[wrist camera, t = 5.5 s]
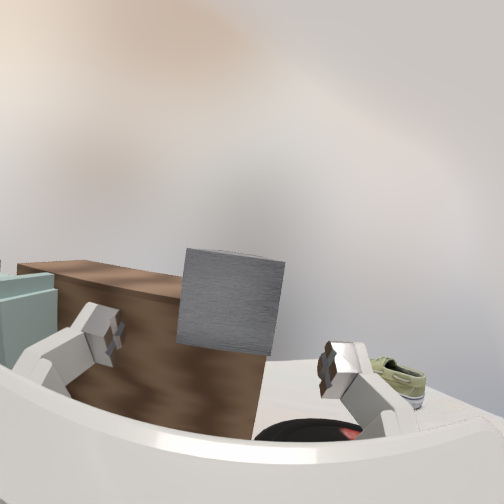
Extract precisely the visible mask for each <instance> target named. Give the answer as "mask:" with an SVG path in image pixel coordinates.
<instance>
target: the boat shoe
mask: <svg viewBox="0 0 504 504" xmlns="http://www.w3.org/2000/svg"><path fill="white" fill-rule="evenodd" d="M370 363H371V366H372V369H373V372H374V373H377V374H378V375H379V376H380V377H381V378H382V379H384V380H385V381H386V382H387V383H388V384H389V385H390V386H391V387H392V388H393V389H394V390H395V391H396V392H397V393H398V394H399V395H401V396H402V397H403V398H404V399H405V400H406V401H407V402H408V403H409V404H410V405H411V406H412V407H413V409H416V408H419V407H420V406H421V404H422V402H423V400H424V395H425V393H424V392H425V383H426V382H425V380H426V375H425V374H424V373H423V372H420V371H418V370H415V369H411V368H408V367H404V366H400V365H398V364H397V363H396V361H395V360H394V359H393V358H391V357H389V356H381V357H380V358H377V359H370Z"/></svg>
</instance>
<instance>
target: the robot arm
mask: <svg viewBox="0 0 504 504" xmlns="http://www.w3.org/2000/svg"><path fill="white" fill-rule="evenodd" d="M122 319H123V313H122V311H121V310H118V309H114V308H110V307H107V306H103V305H99V304H95V303H91V302H88V303H86V304H85V306H84V307H83V309H82V310H81V312H80V313H79V315H78V316H77V318H76V319H75V321H74V322H73V324H72V325H71V327H70V328H69V327H66V328H64V329H62V330H60V331H59V332H57V333H55V334H53V335H51V336H49V337H47V338H45V339H43V340H41V341H39V342H37V343H35V344H34V345H32V346H30V347H28V348H26V349H25V350H24V351H23V353H22V354H21V356H20V358H19V359H18V361H17V362H16V364H15V365H14V367H13V369H12V370H10V369H8V368H6V367H5V366H3V365H1V364H0V504H504V437H503V435H502V433H501V432H500V431H499V430H498V429H497V428H496V427H495V426H494V425H493V424H491V423H490V422H489V421H488V420H487V419H485V418H484V417H481V416H478V417H474V418H470V419H467V420H464V421H460V422H457V423H453V424H449V425H445V426H441V427H437V428H432V429H428V430H423V431H420V429H419V426H418V422H417V419H416V416H415V413H414V409H413V407H412V406H411V405H410V404H409V403H408V402H407V401H406V400H405V399H404V398H403V397H402V396H401V395H399V394H398V393H397V392H396V391H395V390H394V389H393V388H392V387H391V386H390V385H389V384H388V383H387V382H386V381H385V380H384V379H382V378H381V377H380V376H379V375H378V374H377V373H374V372H373V369H372V366H371V363H370V359H369V356H368V353H367V350H366V347H365V344H364V343H358V342H337V341H328V342H327V344H326V346H325V352H324V353H323V354H321V356H320V358H319V360H318V366H317V372H318V377H319V378H320V379H321V380H322V381H321V383H320V385H319V387H320V394H321V398H327V399H340V400H341V402H342V403H343V404H344V406H345V407H346V408H347V409H348V411H349V412H350V413H351V415H352V416H353V417H354V419H355V420H356V421H357V423H358V424H359V425H360V427H361V428H362V429H363V431H362V432H361V433H360V434H359V435H358V436H357V437H356V438H355V439H354V440H351V441H336V442H272V441H256V440H244V439H234V438H226V437H218V436H211V435H204V434H198V433H192V432H187V431H181V430H176V429H172V428H167V427H162V426H158V425H154V424H150V423H146V422H142V421H138V420H134V419H131V418H127V417H124V416H121V415H117V414H114V413H111V412H108V411H105V410H102V409H99V408H96V407H93V406H90V405H87V404H85V403H82V402H79V401H77V400H74V399H72V398H71V395H70V394H69V392H68V390H67V389H66V387H65V386H66V385H67V384H69V383H70V382H71V381H73V380H74V379H75V378H77V377H78V376H79V375H80V374H82V373H83V372H84V371H86V370H87V369H88V368H90V367H91V366H92V365H94V364H95V363H99V364H102V365H106V366H110V367H113V366H114V364H115V362H116V359H117V357H118V352H117V350H118V349H120V348H121V347H122V346H123V344H124V341H125V337H126V328H125V325H124V324H123V322H122Z"/></svg>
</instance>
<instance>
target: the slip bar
mask: <svg viewBox="0 0 504 504" xmlns="http://www.w3.org/2000/svg"><path fill="white" fill-rule="evenodd" d="M284 267H285V262H282V261H277V260H273V259H269V258H265V257H260V256H256V255H250V254H243V253H236V252H229V251H222V250H206V249H191V248H187V250H186V257H185V264H184V272H183V280H182V289H181V298H180V307H179V317H178V327H177V338H176V343H180V344H185V345H191V346H197V347H203V348H210V349H216V350H223V351H231V352H238V353H247V354H255V355H265V356H270V355H271V350H272V344H273V338H274V332H275V326H276V320H277V313H278V307H279V301H280V294H281V288H282V281H283V275H284Z"/></svg>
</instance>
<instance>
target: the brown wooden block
mask: <svg viewBox="0 0 504 504" xmlns="http://www.w3.org/2000/svg"><path fill="white" fill-rule="evenodd" d="M44 272H47V273H51V274H54V289H58V299H57V332H59V331H60V330H62V329H64V328H66V327H69V328H70V327H71V325H72V324H73V322H74V321H75V319H76V318H77V316H78V315H79V313H80V312H81V310H82V309H83V307H84V306H85V304H86V303H88V302H91V303H95V304H99V305H103V306H107V307H110V308H114V309H118V310H121V311H122V313H123V319H122V322H123V324H124V325H125V328H126V337H125V341H124V344H123V346H122V347H121V348H120V349H118V350H117V352H118V357H117V359H116V362H115V364H114V366H113V367H110V366H106V365H102V364H99V363H95V364H94V365H92V366H91V367H90V368H88V369H87V370H86V371H84V372H83V373H82V374H80V375H79V376H78V377H77V378H75V379H74V380H73V381H71V382H70V383H69V384H67V385H66V386H65V387H66V389H67V390H68V392H69V394H70V395H71V398H72V399H74V400H77V401H79V402H82V403H85V404H87V405H90V406H93V407H96V408H99V409H102V410H105V411H108V412H111V413H114V414H117V415H121V416H124V417H127V418H131V419H134V420H138V421H142V422H146V423H150V424H154V425H158V426H162V427H167V428H172V429H176V430H181V431H187V432H192V433H198V434H204V435H211V436H218V437H226V438H234V439H244V440H251V438H252V433H253V427H254V422H255V417H256V412H257V406H258V401H259V396H260V390H261V384H262V379H263V373H264V367H265V362H266V356H265V355H255V354H247V353H238V352H231V351H223V350H216V349H210V348H203V347H197V346H191V345H185V344H180V343H176V338H177V327H178V317H179V307H180V298H181V289H182V280H183V277H179V276H173V275H167V274H160V273H155V272H149V271H143V270H136V269H131V268H126V267H120V266H115V265H109V264H103V263H98V262H92V261H88V260H73V261H54V262H36V263H18V264H17V275H26V274H35V273H44Z"/></svg>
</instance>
